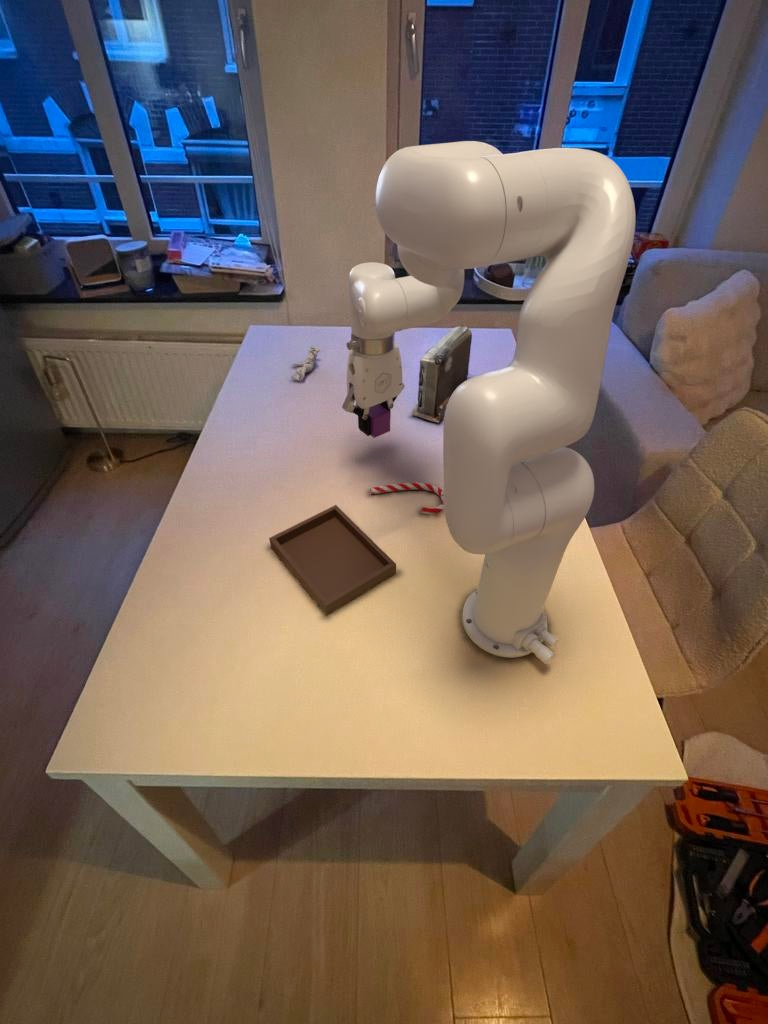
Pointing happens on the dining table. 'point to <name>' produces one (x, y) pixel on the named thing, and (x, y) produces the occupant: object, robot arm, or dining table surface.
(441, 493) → the candy cane
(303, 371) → the soldier figure
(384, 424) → the cube
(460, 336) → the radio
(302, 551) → the tray
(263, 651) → the dining table surface
